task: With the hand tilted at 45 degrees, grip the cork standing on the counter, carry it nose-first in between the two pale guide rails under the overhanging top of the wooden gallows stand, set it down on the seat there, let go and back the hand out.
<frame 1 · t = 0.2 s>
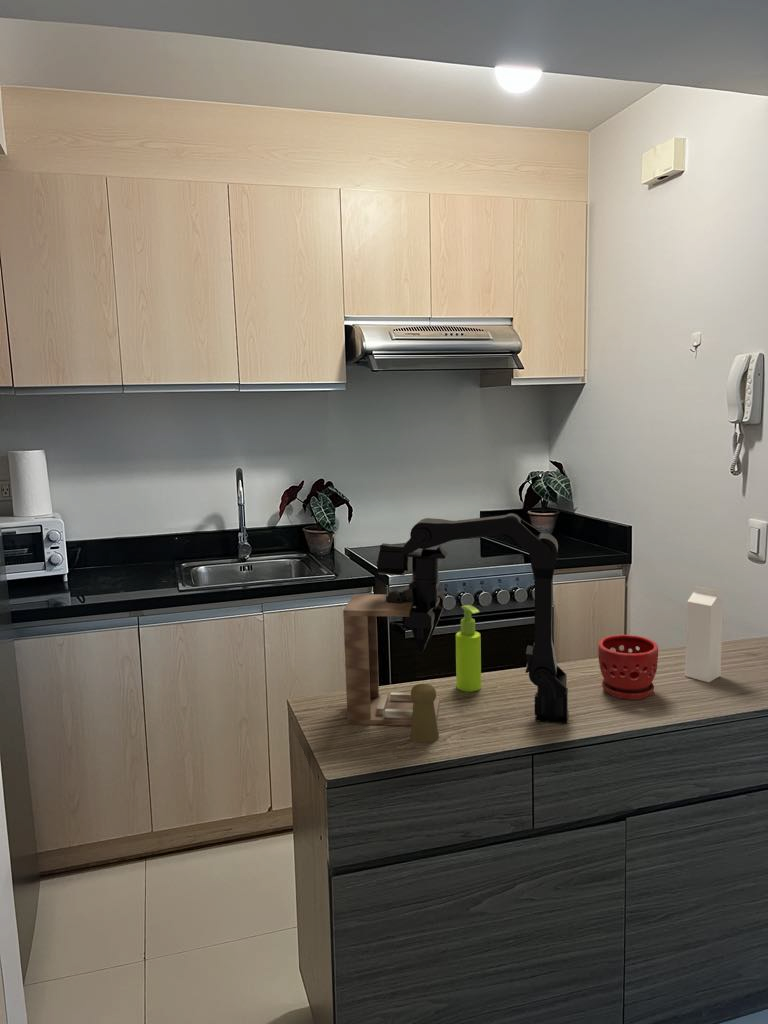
hand: (424, 645, 168), 15 cm above the countertop, tool pointing down, fingers open, 9 cm apart
milk: (702, 677, 184), on the countertop
soap dispenser: (469, 688, 181), on the countertop
cork: (424, 737, 156), on the countertop
wooden gallows stand: (410, 712, 168), on the countertop
plant pot: (627, 693, 175), on the countertop
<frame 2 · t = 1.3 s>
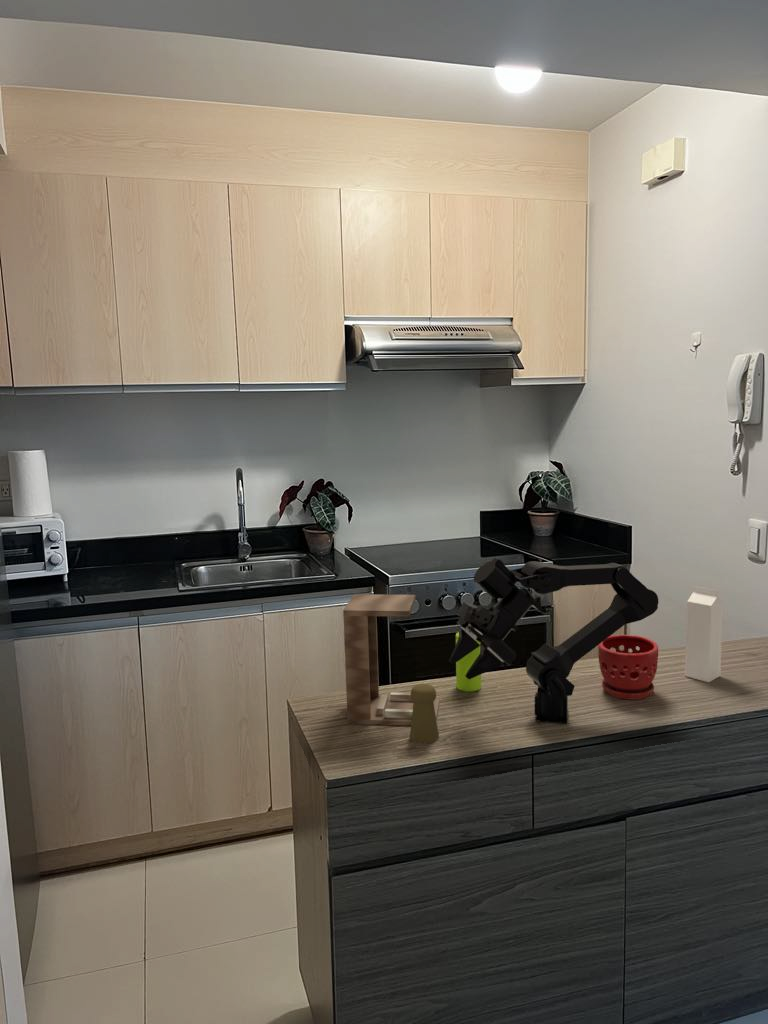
hand: (458, 670, 156), 13 cm above the countertop, tool tilted 45°, fingers open, 9 cm apart
nothing on the countertop moved.
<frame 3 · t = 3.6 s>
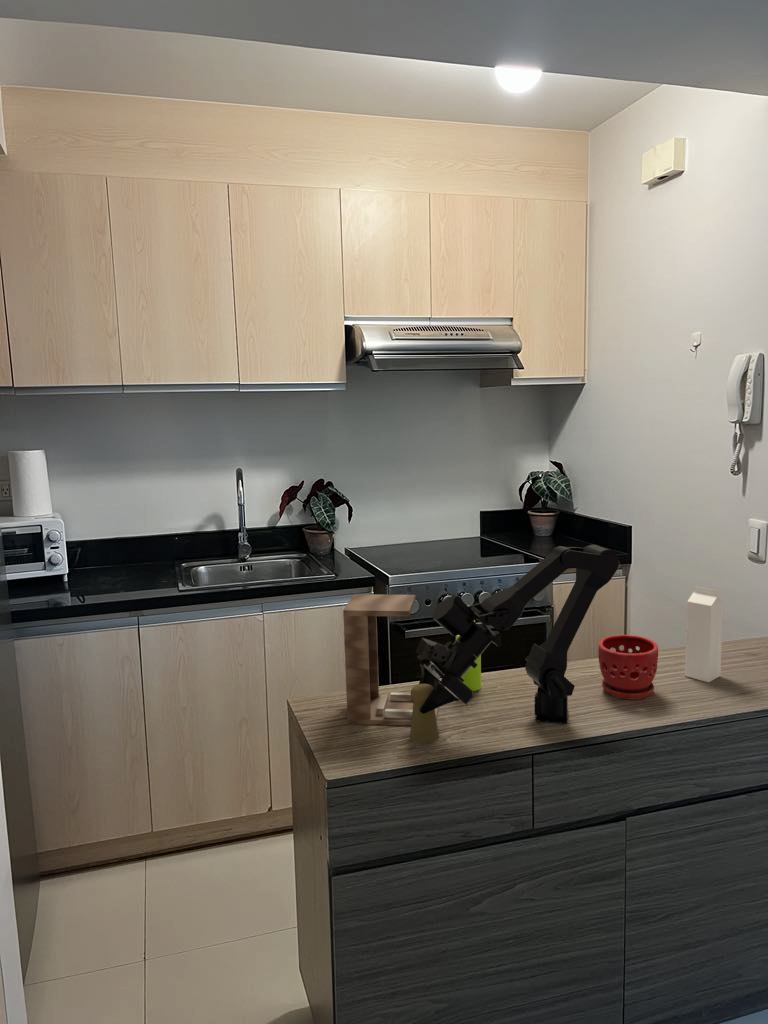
hand: (417, 707, 154), 7 cm above the countertop, tool tilted 45°, fingers closed on cork, 5 cm apart
cork: (424, 737, 156), on the countertop, touching gripper
everything else where it was.
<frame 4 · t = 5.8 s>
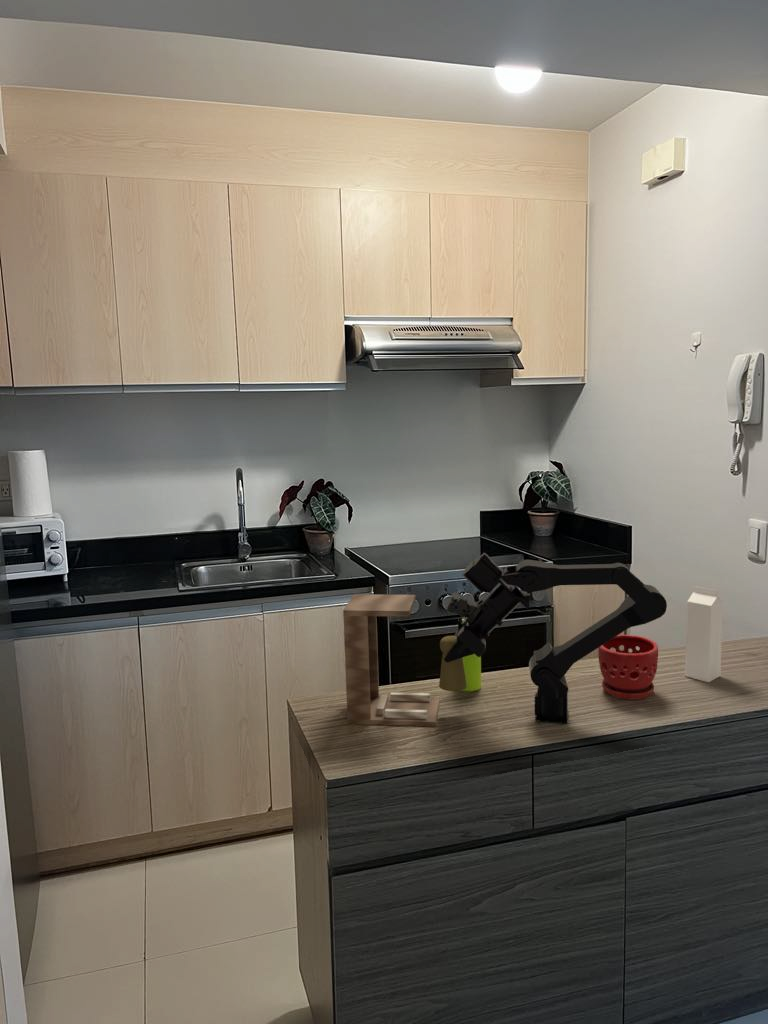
hand: (445, 656, 165), 13 cm above the countertop, tool tilted 45°, fingers closed on cork, 5 cm apart
cork: (452, 686, 165), point 6 cm above the countertop, touching gripper
everything else where it was.
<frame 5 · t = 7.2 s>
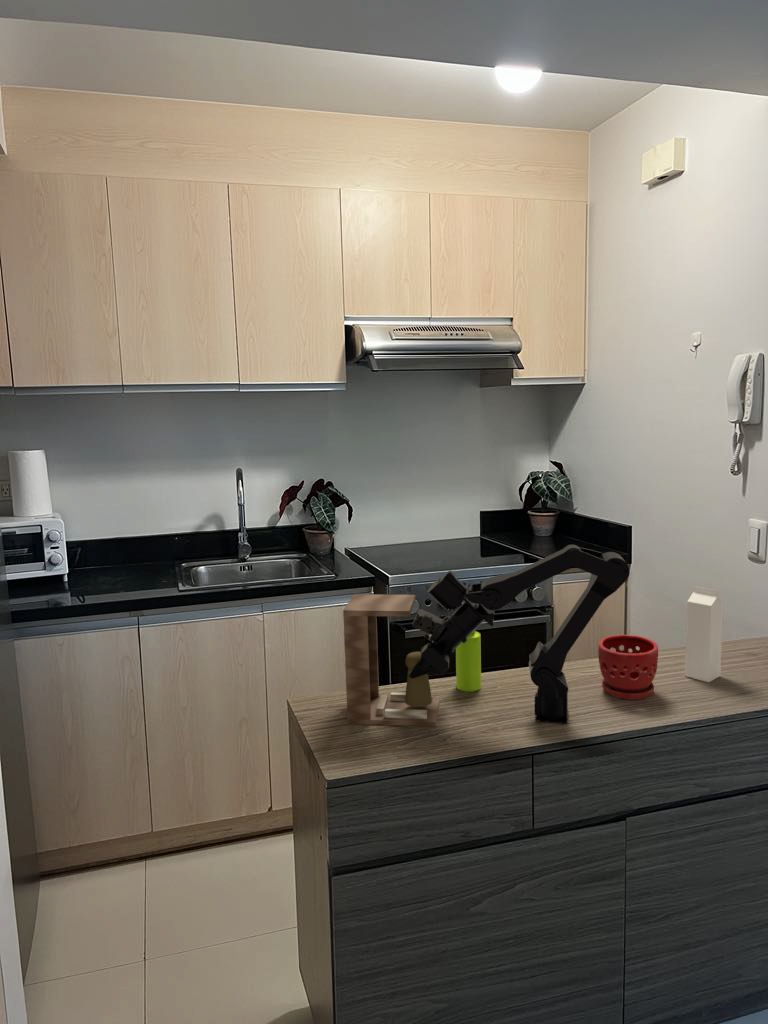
hand: (411, 672, 166), 9 cm above the countertop, tool tilted 45°, fingers closed on cork, 5 cm apart
cork: (418, 702, 167), point 3 cm above the countertop, touching gripper
everything else where it was.
when the fingers open (8 cm above the countertop, at t = 8.0 s): cork stays where it is, resting on wooden gallows stand.
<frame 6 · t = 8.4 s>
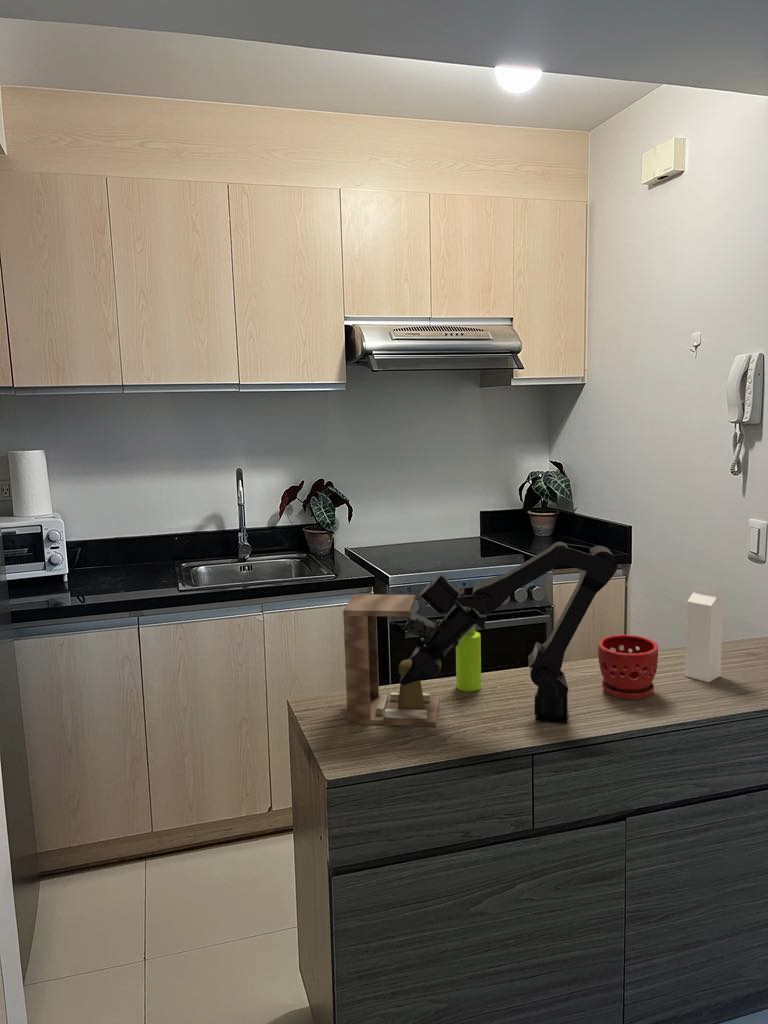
hand: (403, 675, 167), 9 cm above the countertop, tool tilted 45°, fingers open, 9 cm apart
cork: (411, 709, 168), point 1 cm above the countertop, touching wooden gallows stand
everything else where it was.
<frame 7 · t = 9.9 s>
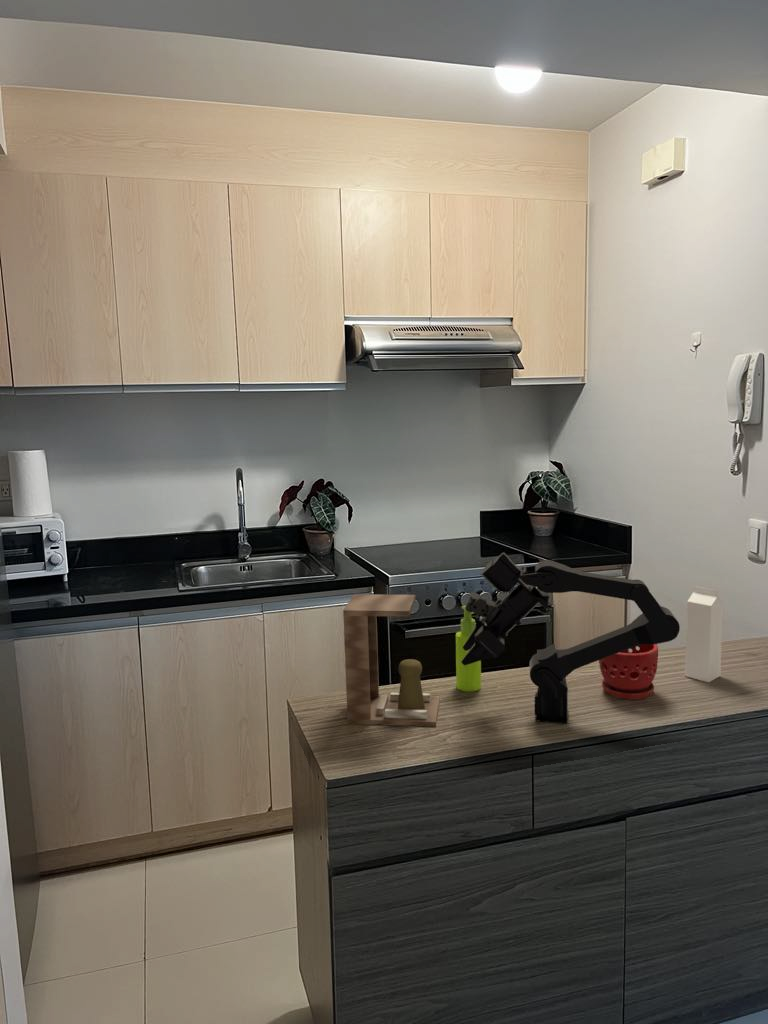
hand: (463, 656, 164), 13 cm above the countertop, tool tilted 45°, fingers open, 9 cm apart
nothing on the countertop moved.
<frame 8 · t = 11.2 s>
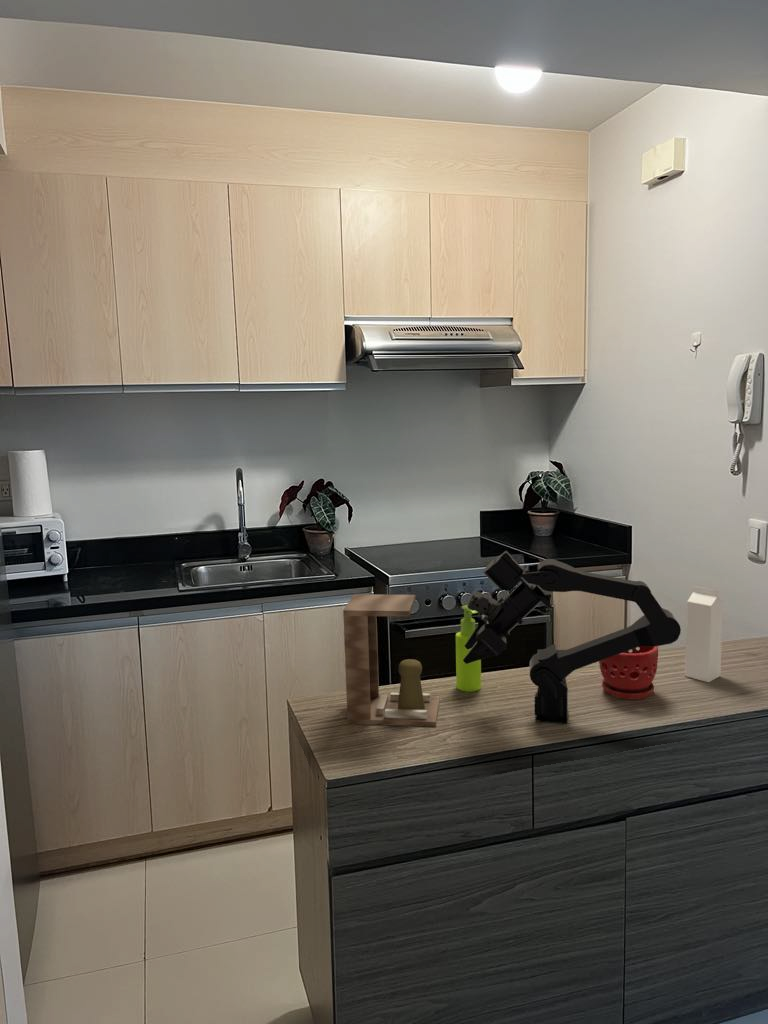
hand: (465, 654, 164), 14 cm above the countertop, tool tilted 45°, fingers open, 9 cm apart
nothing on the countertop moved.
at the end: cork inside the target area on the wooden gallows stand (0.2 cm from its centre), point 0.8 cm above the wooden gallows stand's base; cork tilted 0°; the gripper is holding nothing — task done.
